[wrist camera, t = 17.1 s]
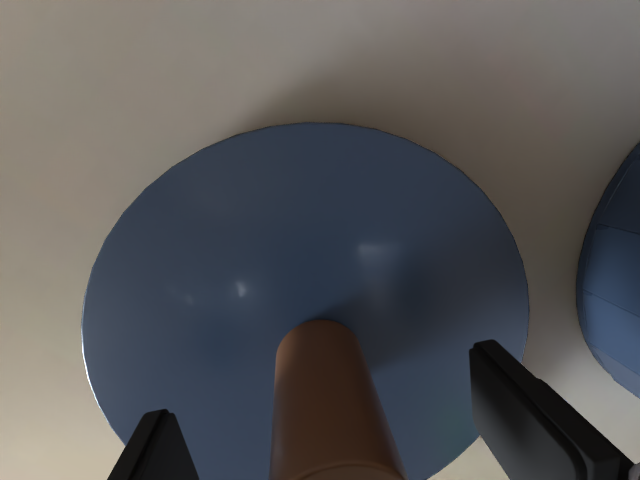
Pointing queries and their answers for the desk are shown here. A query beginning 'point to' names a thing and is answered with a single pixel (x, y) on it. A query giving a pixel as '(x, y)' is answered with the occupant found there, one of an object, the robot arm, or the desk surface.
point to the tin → (614, 278)
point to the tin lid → (304, 305)
